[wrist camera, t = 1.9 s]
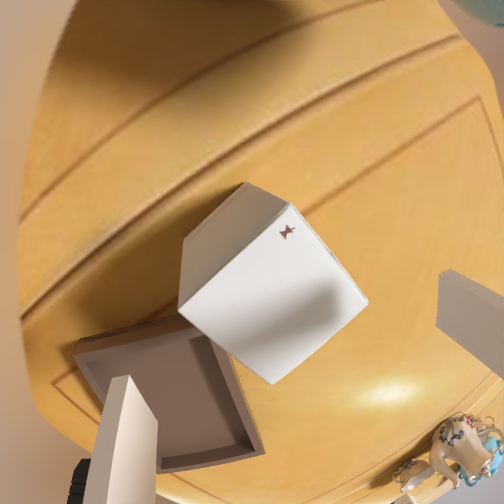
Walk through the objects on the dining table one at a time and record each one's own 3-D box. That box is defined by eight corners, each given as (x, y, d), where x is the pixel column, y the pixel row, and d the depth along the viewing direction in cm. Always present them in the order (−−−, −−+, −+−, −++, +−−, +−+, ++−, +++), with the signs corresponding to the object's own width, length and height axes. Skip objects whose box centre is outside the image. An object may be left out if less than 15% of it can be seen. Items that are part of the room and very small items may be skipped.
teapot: (499, 421, 54) (520, 443, 44) (488, 447, 60) (506, 467, 49) (459, 455, 54) (480, 480, 43) (452, 476, 59) (469, 498, 49)
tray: (80, 338, 26) (71, 355, 24) (213, 304, 28) (215, 320, 25) (158, 457, 33) (157, 474, 30) (260, 436, 34) (265, 453, 31)
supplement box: (180, 239, 26) (169, 308, 14) (246, 178, 25) (294, 197, 13) (238, 297, 28) (270, 390, 16) (301, 242, 28) (374, 303, 16)
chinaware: (383, 478, 49) (413, 532, 34) (389, 450, 42) (430, 518, 27) (478, 416, 51) (513, 459, 36) (497, 376, 44) (543, 423, 29)
